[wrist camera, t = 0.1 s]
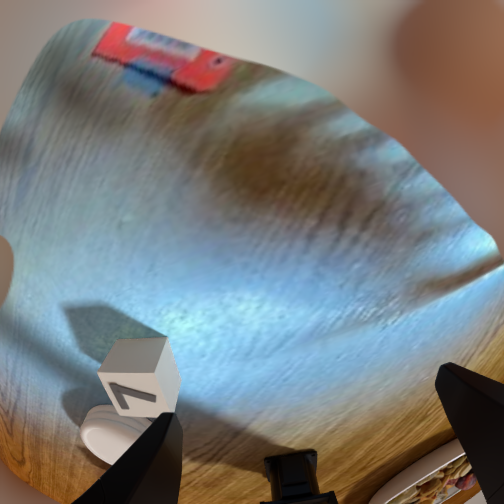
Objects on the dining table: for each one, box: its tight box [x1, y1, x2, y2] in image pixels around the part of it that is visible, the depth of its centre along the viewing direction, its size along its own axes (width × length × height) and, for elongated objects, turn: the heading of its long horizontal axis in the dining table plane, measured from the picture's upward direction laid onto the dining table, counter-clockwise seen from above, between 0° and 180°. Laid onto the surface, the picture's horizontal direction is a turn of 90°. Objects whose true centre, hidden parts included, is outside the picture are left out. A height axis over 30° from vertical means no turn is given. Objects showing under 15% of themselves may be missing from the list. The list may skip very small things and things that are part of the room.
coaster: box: [80, 404, 152, 465], centre depth 26 cm, size 10×10×4 cm
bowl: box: [369, 438, 477, 504], centre depth 33 cm, size 30×30×8 cm
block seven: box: [97, 337, 182, 418], centre depth 22 cm, size 5×5×5 cm
